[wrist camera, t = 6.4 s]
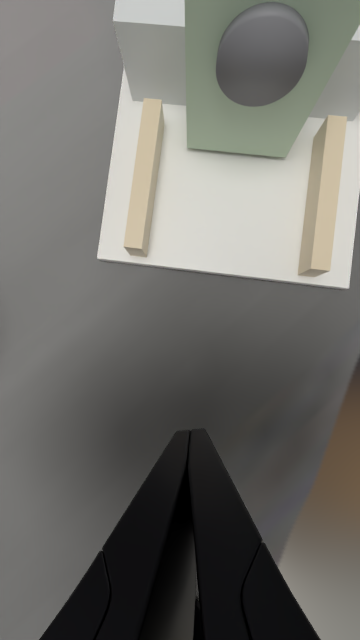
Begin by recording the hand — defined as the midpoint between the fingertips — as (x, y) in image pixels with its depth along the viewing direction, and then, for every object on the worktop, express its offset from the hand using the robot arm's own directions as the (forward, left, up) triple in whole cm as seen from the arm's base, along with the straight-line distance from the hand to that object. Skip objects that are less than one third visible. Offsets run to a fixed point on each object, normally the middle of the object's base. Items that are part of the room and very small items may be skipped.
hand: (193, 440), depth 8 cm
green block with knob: (+14, -10, -10) cm, 20 cm away
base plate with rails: (+13, -10, -11) cm, 20 cm away
